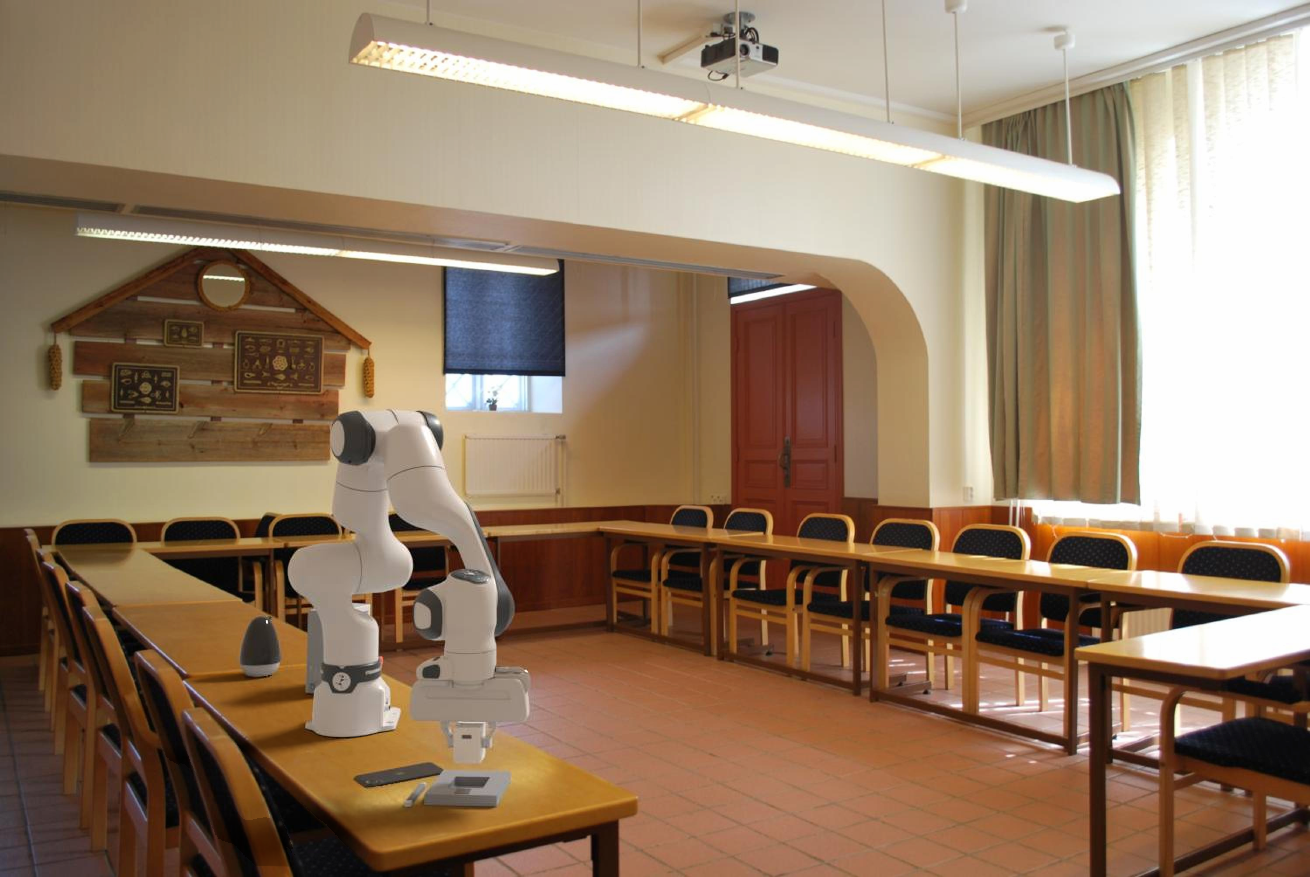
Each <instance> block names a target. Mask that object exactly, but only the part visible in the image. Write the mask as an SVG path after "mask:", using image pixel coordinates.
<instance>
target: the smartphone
mask: <svg viewBox="0 0 1310 877" xmlns="http://www.w3.org/2000/svg"><path fill="white" fill-rule="evenodd" d="M443 770H445V769H444V768H442V767H440V766H438V765H437V764H435V763H434V762H430V761H429V762H427V761H426V762H421V763H416V764H410V765H405V766H400V767H396V768H390V769H384V770H379V771H374V772H369V773H363V774H357V775H355V776H354V777H353V779H354V780H355V781H356V780H357V781H358V782H357V781H356V782H357V783H359V782H360V783H361V784H363V785H364V786H365V787H364V786H363V785H362V786H363V787H364V788H366V787H375V786H380V787H384V786H383V785H385V786H389V785H388V784H391V785H395V784H399V783H400V782H401V783H404V782H410V781H415V780H420V779H425V778H430V777H438V776H439V775H440V774H441V773H442V771H443ZM360 783H359V784H360ZM394 783H395V784H394ZM401 783H400V784H401ZM361 784H360V785H361ZM375 788H376V787H375Z"/></svg>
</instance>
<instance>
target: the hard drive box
mask: <svg viewBox="0 0 1310 877" xmlns="http://www.w3.org/2000/svg"><path fill="white" fill-rule="evenodd" d="M352 604H353V606H354V608H355V609H358V610H360V611H362V612H365V613H367V614H369V615H370V616H371V604H370V603H357V602H356V603H355V602H352ZM306 634H307V637H306V639H307V642H306V643H307V644H306V673H305V693H306V694H307V693H308V694H313V695H314V690H315V688H317V686H319V685H320V684H321V682H322V679H321V663H322V662H323V661H324V649H323V631H322V624H321V621H320V618H319V615H318V613H317V611H316V610H315V608H313V609H309V610H308V611H307V633H306Z"/></svg>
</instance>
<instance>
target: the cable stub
mask: <svg viewBox="0 0 1310 877" xmlns="http://www.w3.org/2000/svg"><path fill="white" fill-rule="evenodd" d="M427 787H428V786H427V782H420V783H419V784H418V785H417V786H416V788H415V789H414V790H413V791H412V792H411V794H410V795H409V796H408V798H406V799H405V800H404V803H403V804H404V805H403V806H404V808H409V807H412V806H413V805H414V803H415V802H416V800H417V799H418V798H419V797H420V795H421V794H422V793H423V792H424V790H425V789H426V788H427Z"/></svg>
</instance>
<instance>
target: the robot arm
mask: <svg viewBox="0 0 1310 877" xmlns="http://www.w3.org/2000/svg"><path fill="white" fill-rule="evenodd" d="M444 439H445V438H444V428H443V425H442V423H441V421H440V419H439V418H438V417H437V416H436V415H435V414H434V413H431V412H428V411H423V410H415V411H413V410H405V409H396V408H395V409H394V408H392V409H391V408H387V409H378V410H377V409H374V410H364V411H359V410H352V411H351V410H350V411H346V412H343V413H340V414H338V415H336V418H334V420H333V422H332V423H331V427H330V434H329V441H330V442H329V443H330V449H331V450H330V451H331V453H332V455H333V456H334V457H335V459H336V460H337V461H338V462H337V464H338V465H337V469H336V476H335V483H334V490H333V497H332V498H333V499H332V505H331V513H332V516H333V518H334V520H335V521H336V522H337V523H338V524H339V526H342V527H343V528H345V529H347V530H348V531H351V532H353V533H355V538H354V540H353V541H347V542H346V541H345V542H323V543H317V544H312V545H308V546H305V547H301V548H298V549H297V550H296V551H295V552H294V553H293V555H292V557H291V558H290V560H289V563H288V566H287V576H288V581H289V583H290V585H291V587H292V589H293V590H294V591H295V592H296V593H297V594H299V595H300V596H302V597H303V598H304V599H306V601H307V602H309V603H310V605H311V606H312V607H313V609H315V610H316V611H317V613H318V615H319V618H320V621H321V624H322V631H323V649H324V661H323V662H322V663H321V679H322V682H321V684H320V685H319V686H317V688H315V690H314V694H313V701H312V702H313V704H312V716H311V717H312V718H311V720H309V721H307V722H305V729H306V730H309V731H310V730H311V731H313V732H315V733H316V734H317V735H321V736H326V737H332V738H333V737H335V738H336V737H339V738H347V737H360V736H367V735H370V734H375V733H378V732H386V731H393V730H395V729H396V728H397V725H398V723H399V719H400V717H401V713H402V712H401V708H400V707H396V706H391V688H390V687H389V686H388V684H387V683H386V682H385V680H384V679H383V678H382V674H383V673H382V666H383V664H384V658H383V656H379V625H378V622H377V620H376V619H375V618H374V617H373V616H372V615H371V614H370V615H369V614H367V613H365V612H362V611H360V610H358V609H355V608H354V606H353V604H352V603H353V600H352V599H353V596H354V595H362V594H365V595H366V594H373V593H374V594H375V593H376V594H377V593H384V592H385V593H386V592H387V591H393V590H395V589H399V588H402V587H404V586H405V585H406V584H407V583H408V582H409V580H410V579H411V576H412V573H413V569H414V563H413V562H414V561H413V557H412V555H411V552H410V551H409V549H408V548H407V547H406V545H404V543H402V542H401V541H400V540H399V539H398V538H397V537H396V536H395V534H394V533H393V531H392V529H391V526H390V522H389V521H390V520H389V510H390V509H389V507H390V504H391V506H392V509H393V510H394V512H395V514H397V516H398V517H399V518H400V519H402V520H403V521H405V522H406V523H408V524H410V525H412V526H414V527H416V528H421V529H423V530H427V531H431V532H433V533H436V534H438V535H441V536H442V537H445V538H446V539H447V540H449V541H451V542H452V543H453V544H454V546H455V547H456V548H457V550H458V552H459V554H460V558H461V560H462V562H463V565H464V567H465V568H459V569H456V570H452V571H451V572H450V573H449V574H448V575H447V576H446V579H445V580H444V581H442V582H441V583H438V584H434V585H433V586H429V587H424V588H423V589H422V590H421V591H420V592H419V593H418V595H417V596H416V597H415V599H414V601H413V603H412V615H411V616H412V624H413V627H414V629H415V631H417V632H418V634H420V636H421V637H423V638H424V639H425V640H428V641H429V640H431V641H444V649H443V654H442V655H439V656H437V657H433V658H430V659H427V660H425V661H424V662H422V663H421V664H419V666H417V667H416V669H415V670H416V671H415V674H416V675H415V676H416V678H417V680H416V681H415V682H414V683H413V685H412V687H411V691H410V696H409V697H410V698H409V705H408V706H409V710H408V714H409V717H410V718H411V719H412V721H414V722H440V729H441V731H442V733H443V734H444V736H445V737H446V747H447V748H452V749H453V739H454V732H452V730H451V728H450V727H451V725H452V722H453V723H455V722H456V723H458V722H485V723H488V724H487V727H488V729H491V730H490V731H489V733H488V735H485V736H483V737H482V748H485V749H492V745H493V736H494V734H495V732H496V730H497V729H498V727H499V723H510V724H511V723H513V724H514V723H515V724H517V723H518V724H520V723H524V722H525V721H526V719H528V718H529V715H530V699H529V691H530V689H531V685H532V684H531V682H532V681H531V674H530V672H529V671H527V670H526V669H523V666H522V667H521V666H500V665H499V666H497V643H496V639H495V637H498V636H500V635H501V634H503V632H504V631H506V629H507V628H508V627H509V626H510V624H511V623H512V620H513V618H514V616H515V612H516V611H515V610H516V609H515V608H516V607H515V601H514V598H513V595H512V592H511V590H509V588H508V586H507V584H506V582H505V581H504V579H503V577H502V576H501V574H500V572H499V569H498V566H497V564H496V561H495V559H494V557H493V554H492V551H491V549H490V547H489V544H488V541H487V540H486V537H485V535H484V533H483V529H482V526H481V525H480V523H479V521H478V518H477V516H476V514H475V511H474V510H473V508H472V507H471V505H470V504H469V503H467V502H466V501H464V500H463V499H462V498H461V497H460V496H459V495H458V494H457V492H456V491H455V489H454V488H453V486H452V485H451V482H450V480H449V477H448V475H447V470H446V466H445V463H444V460H443V456H442V453H441V451H442V449H443V446H444Z"/></svg>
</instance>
